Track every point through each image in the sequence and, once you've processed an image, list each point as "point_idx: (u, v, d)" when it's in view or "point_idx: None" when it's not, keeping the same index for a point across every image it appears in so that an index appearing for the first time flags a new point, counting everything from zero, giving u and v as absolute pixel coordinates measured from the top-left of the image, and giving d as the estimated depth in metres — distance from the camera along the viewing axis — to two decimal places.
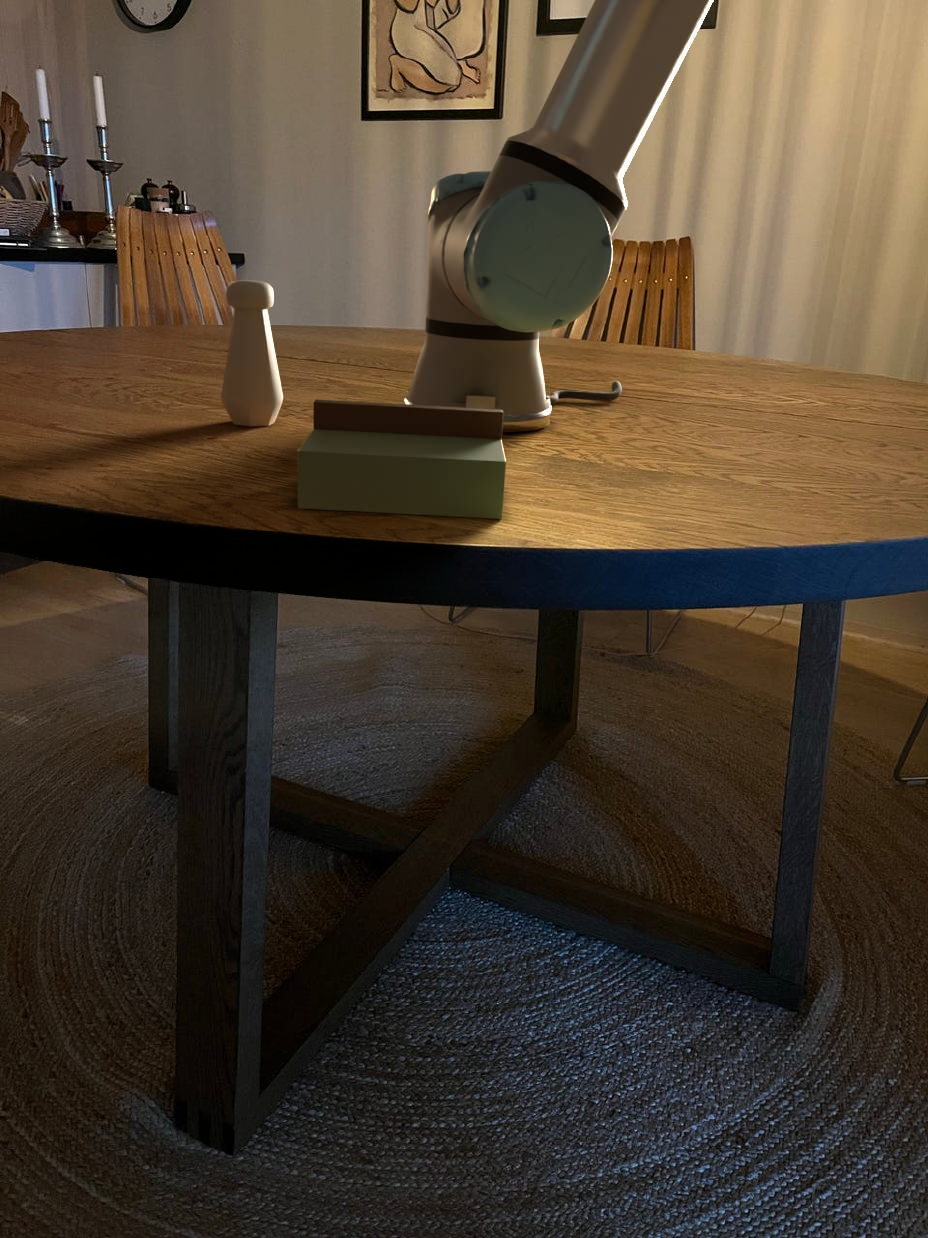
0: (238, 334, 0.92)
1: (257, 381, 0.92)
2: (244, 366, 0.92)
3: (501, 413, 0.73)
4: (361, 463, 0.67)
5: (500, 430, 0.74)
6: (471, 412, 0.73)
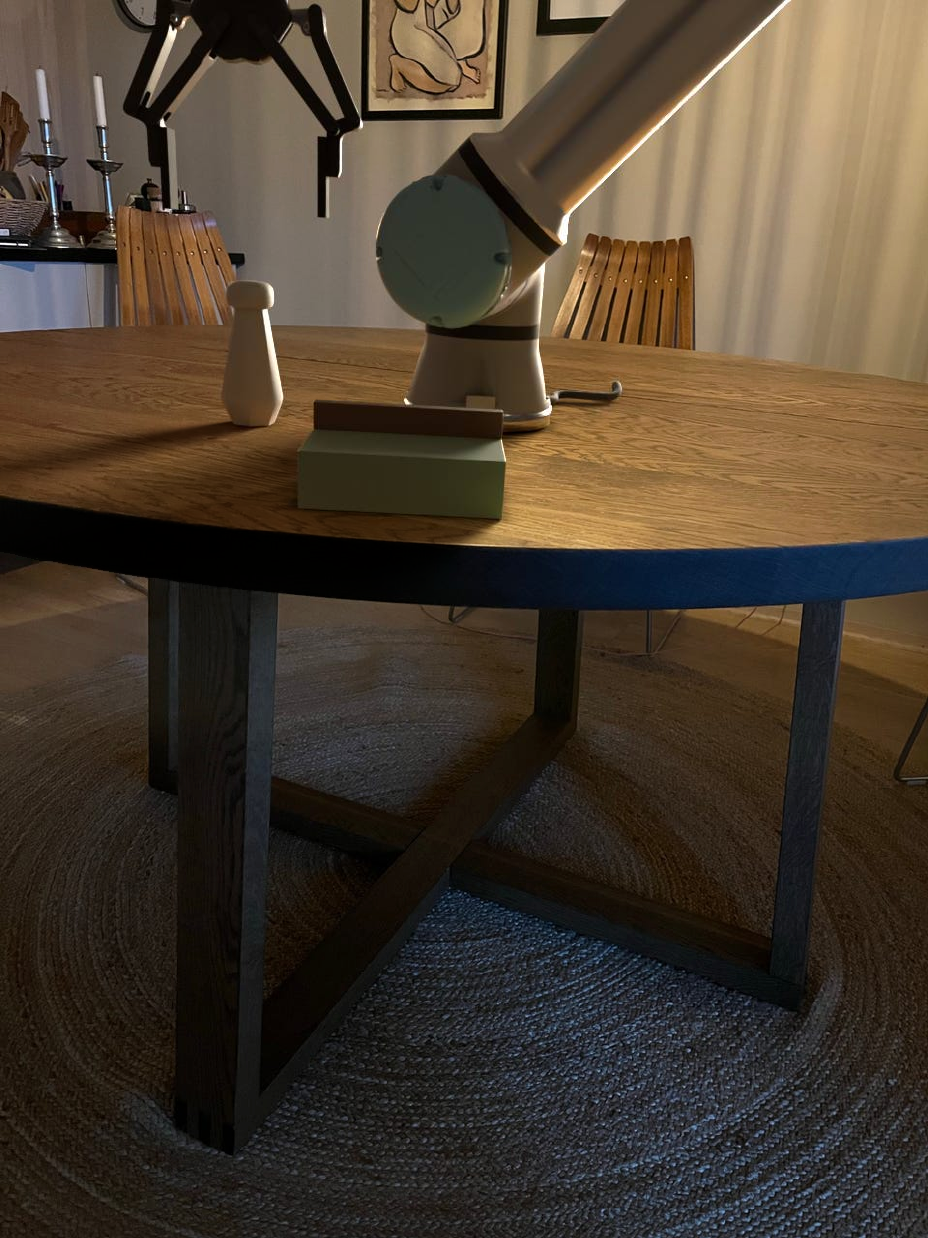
0: (238, 334, 0.92)
1: (257, 381, 0.92)
2: (244, 366, 0.92)
3: (501, 413, 0.73)
4: (361, 463, 0.67)
5: (500, 430, 0.74)
6: (471, 412, 0.73)
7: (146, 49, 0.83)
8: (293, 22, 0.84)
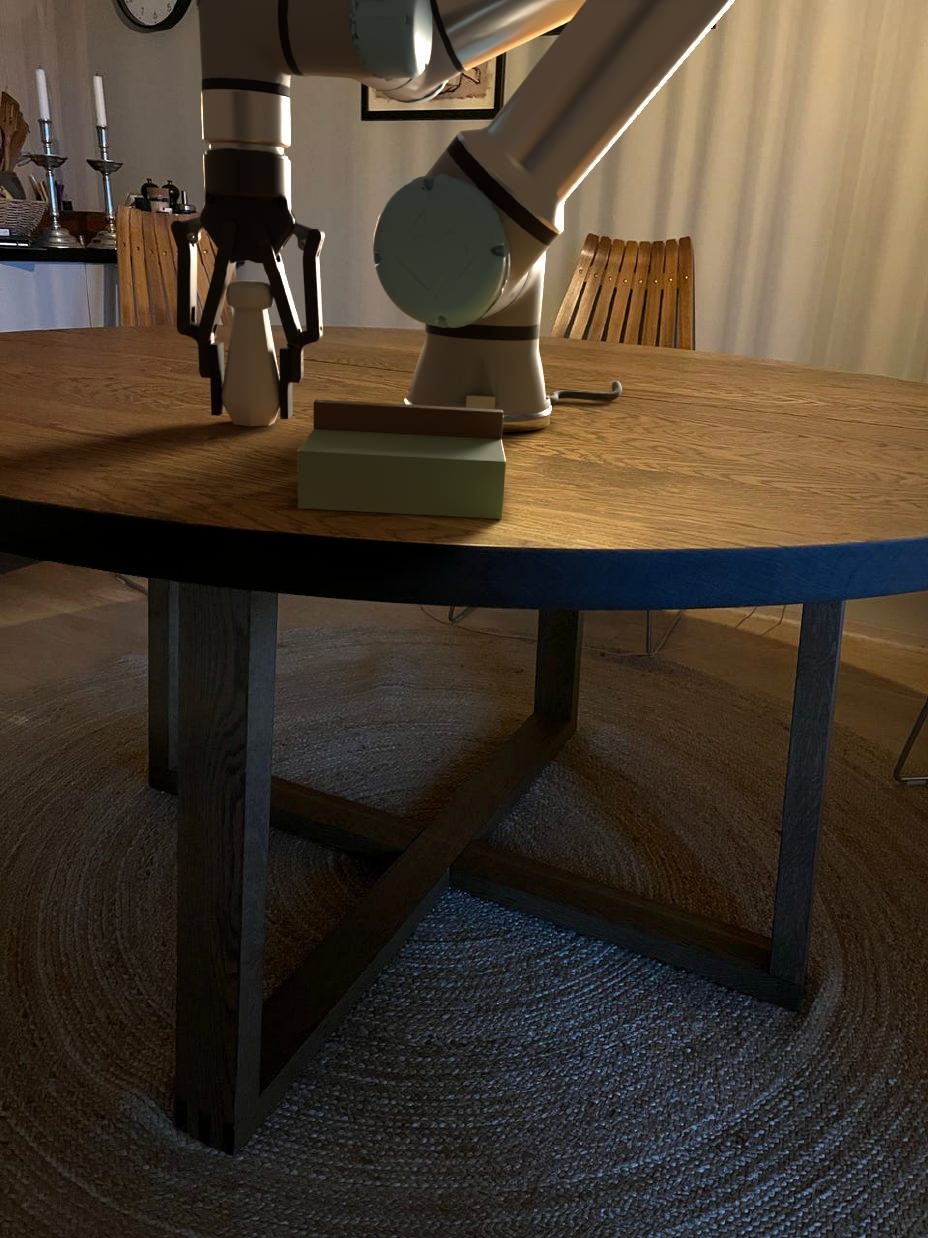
0: (238, 334, 0.92)
1: (257, 381, 0.92)
2: (244, 366, 0.92)
3: (501, 413, 0.73)
4: (361, 463, 0.67)
5: (500, 430, 0.74)
6: (471, 412, 0.73)
7: (178, 273, 0.90)
8: (293, 233, 0.90)
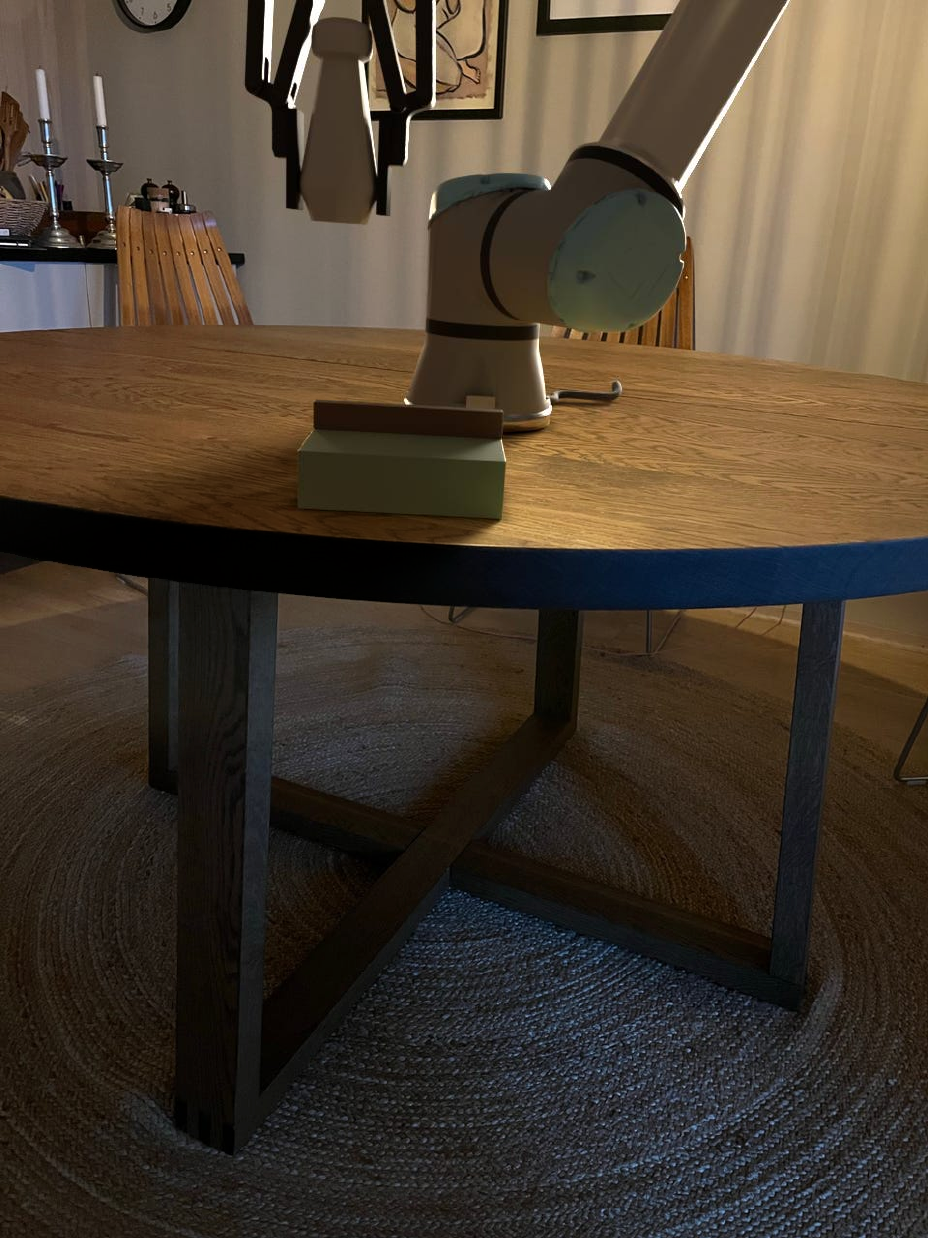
0: (325, 91, 0.69)
1: (349, 156, 0.70)
2: (332, 136, 0.69)
3: (501, 413, 0.73)
4: (361, 463, 0.67)
5: (500, 430, 0.74)
6: (471, 412, 0.73)
7: (249, 5, 0.68)
8: None
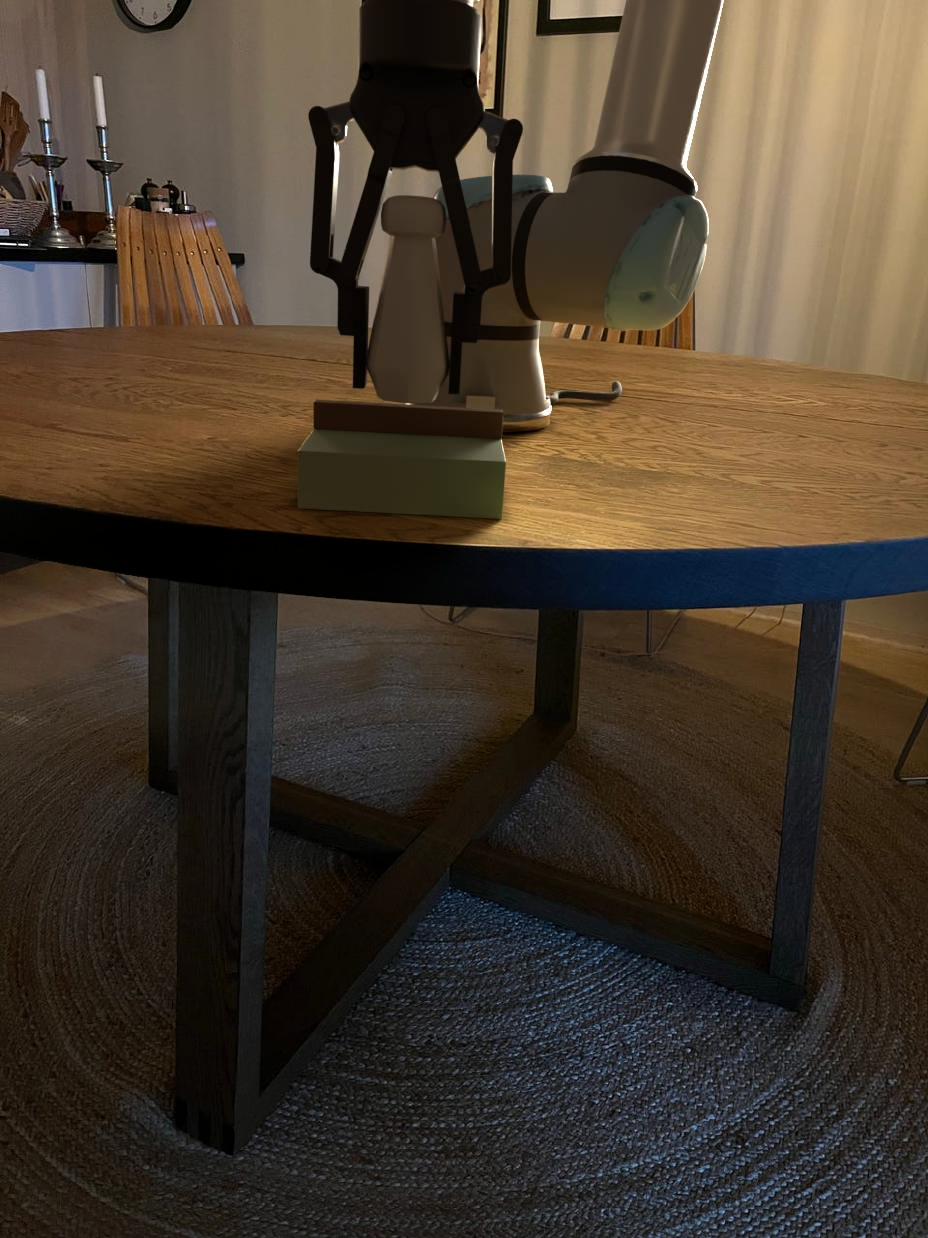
0: (397, 272, 0.65)
1: (422, 339, 0.66)
2: (405, 318, 0.65)
3: (501, 413, 0.73)
4: (361, 463, 0.67)
5: (500, 430, 0.74)
6: (471, 412, 0.73)
7: (316, 184, 0.63)
8: (480, 126, 0.63)
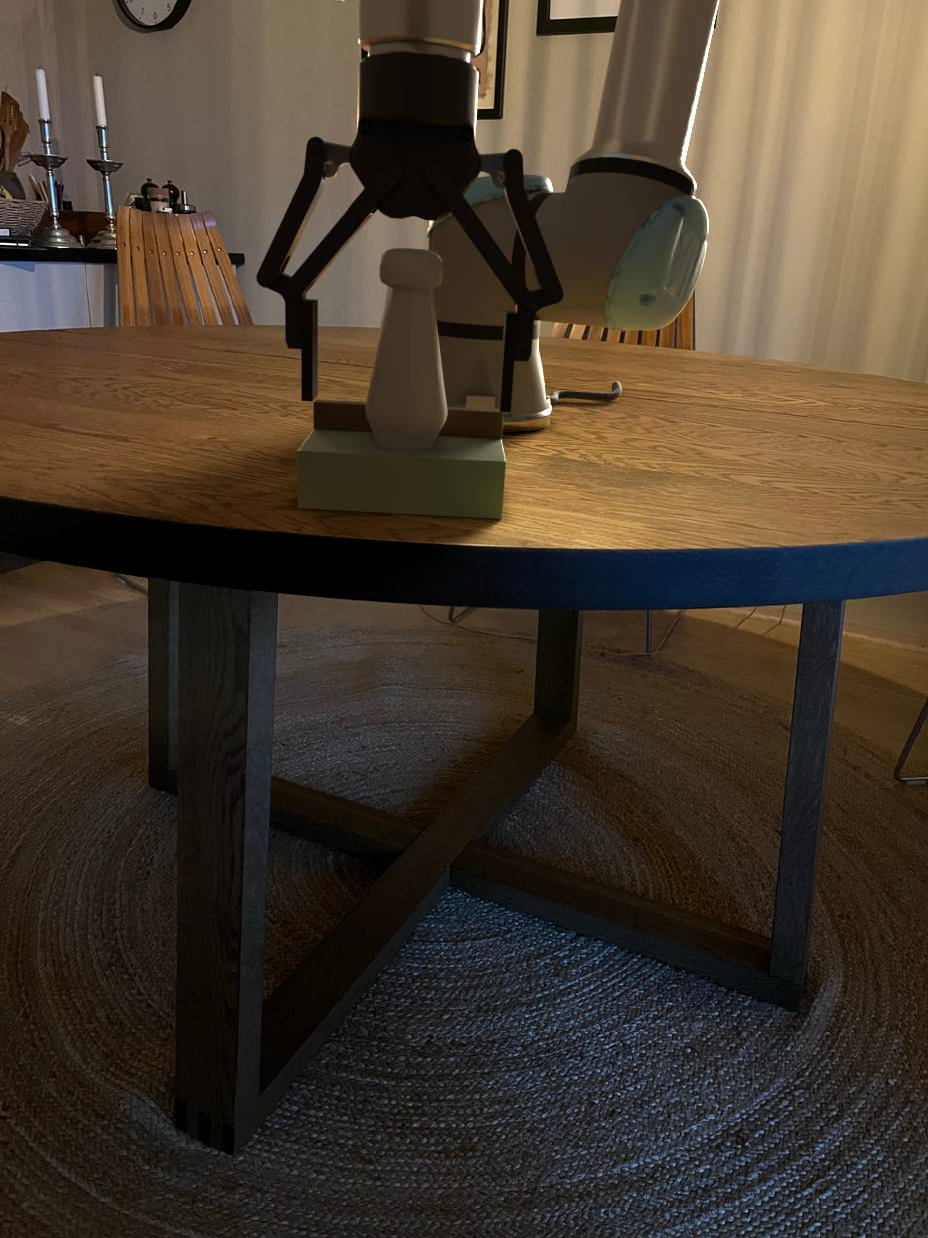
0: (395, 323, 0.66)
1: (420, 388, 0.67)
2: (403, 368, 0.66)
3: (501, 413, 0.73)
4: (361, 463, 0.67)
5: (500, 430, 0.74)
6: (471, 412, 0.73)
7: (290, 206, 0.64)
8: (482, 170, 0.64)
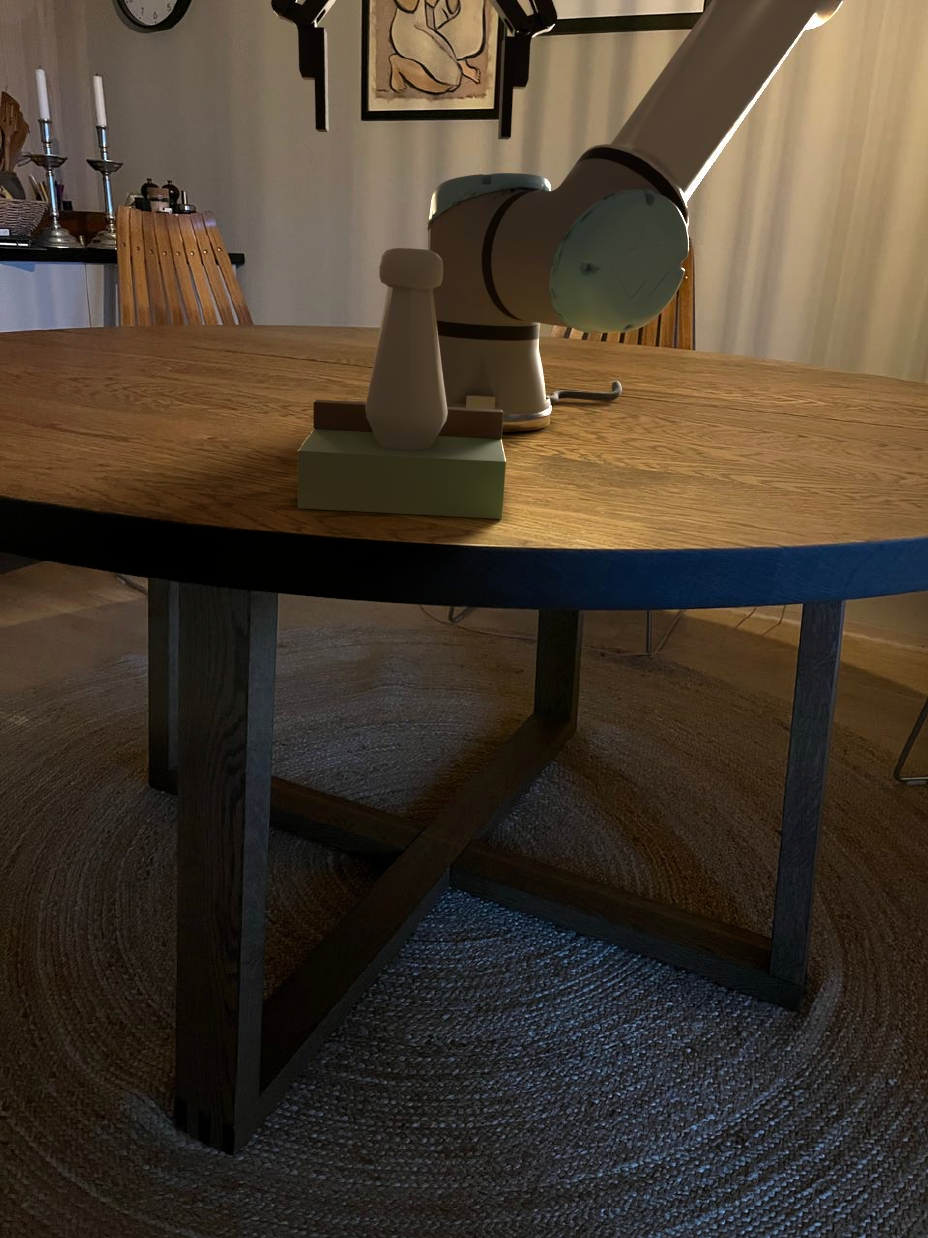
0: (395, 323, 0.66)
1: (420, 388, 0.67)
2: (403, 368, 0.66)
3: (501, 413, 0.73)
4: (361, 463, 0.67)
5: (500, 430, 0.74)
6: (471, 412, 0.73)
7: None
8: None
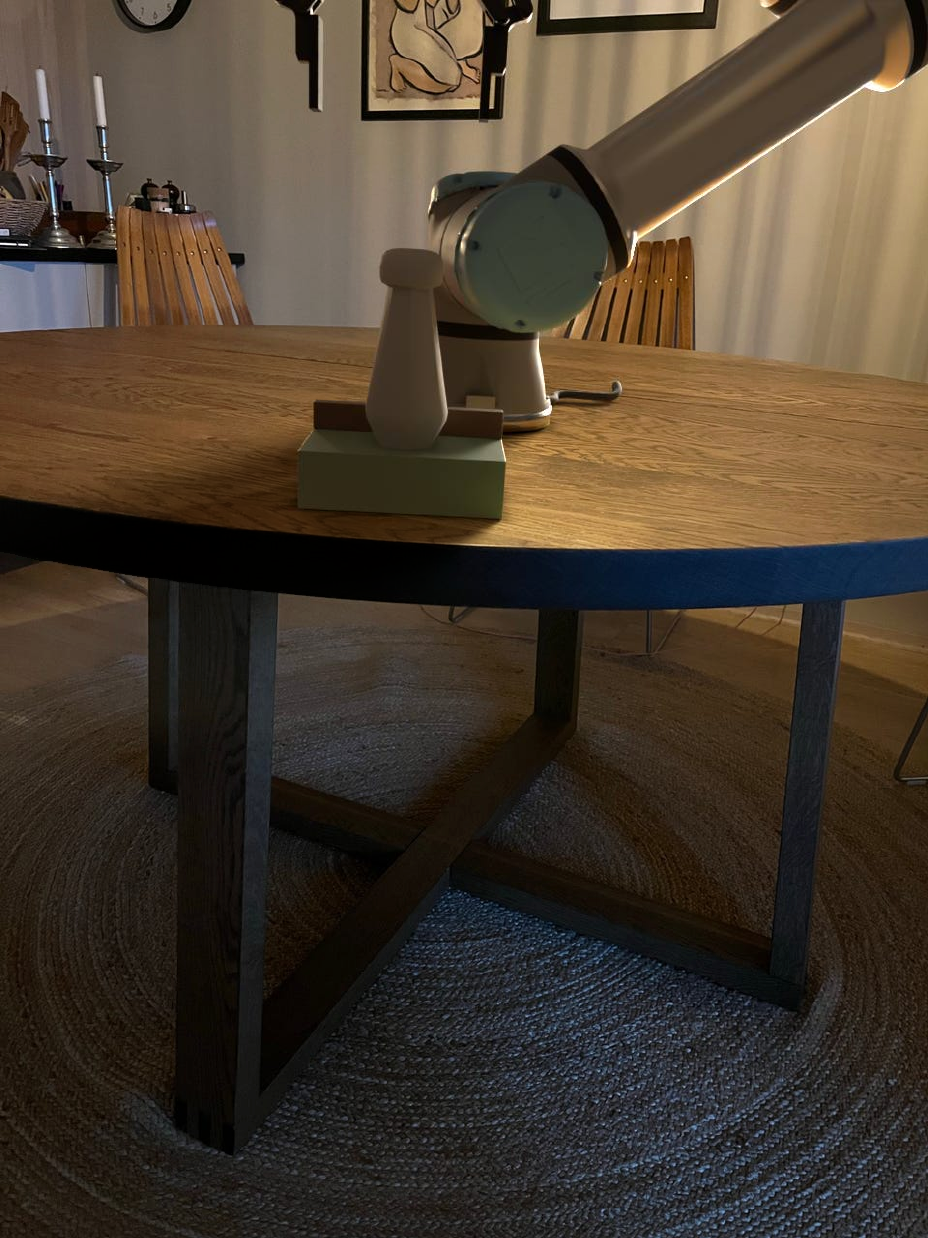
0: (395, 323, 0.66)
1: (420, 388, 0.67)
2: (403, 368, 0.66)
3: (501, 413, 0.73)
4: (361, 463, 0.67)
5: (500, 430, 0.74)
6: (471, 412, 0.73)
7: None
8: None
